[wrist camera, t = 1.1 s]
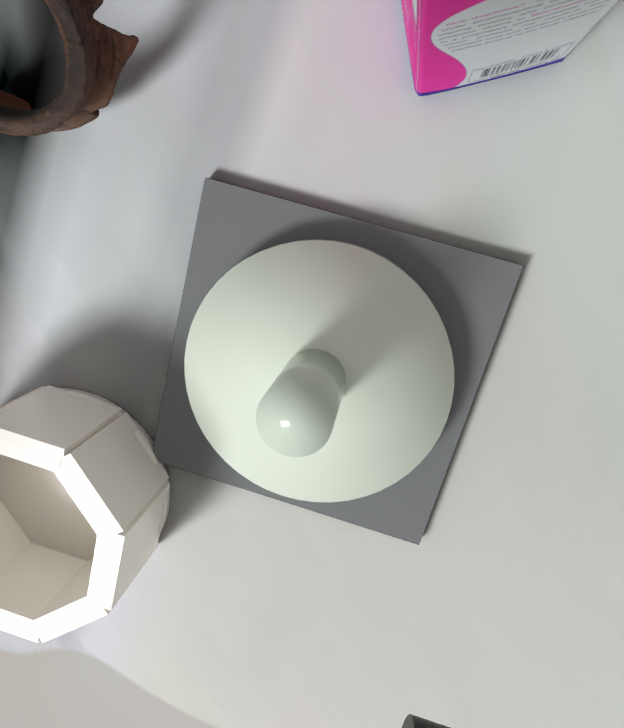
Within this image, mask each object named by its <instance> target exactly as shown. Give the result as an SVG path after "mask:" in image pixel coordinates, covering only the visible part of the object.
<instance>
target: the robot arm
mask: <svg viewBox="0 0 624 728" xmlns="http://www.w3.org/2000/svg"><path fill="white" fill-rule="evenodd" d="M402 728H450V727H447V726H444V725H441V724H438V723H435V722H432V721H429V720H426V719H423V718H420V717H417V716H414V715H411V714H409V715H408V716H407V717H406V719H405V721H404V724H403V726H402Z"/></svg>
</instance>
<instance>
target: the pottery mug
mask: <svg viewBox="0 0 624 728" xmlns="http://www.w3.org/2000/svg"><path fill="white" fill-rule="evenodd" d="M44 1H45V3H46V4H47V6H48V8H49V9H50V11H51V13H52V15H53V17H54V19H55V21H56V23H57V26H58V28H59V31H60V33H61V36H62V38H63V42H64V51H65V57H66V59H65V78H64V83H63V86H62V89H61V91H60V92H59V94H58V95H57V97H56V98H55V99H54V100H53V101H52V102H51V103H49V104H47V105H45V106H44V107H40V108H37V109H31V107H30V104H29V103H28V102H26V101H25V100H23V99H21V98H19V97H16V96H14V95H12V94H9V93H6V92H3V91H1V90H0V133H4V134H8V135H16V136H18V135H27V136H35V135H41V134H46V133H49V132H51V131H66V130H71V129H75V128H78V127H81V126H83V125H85V124H87V123H89V122H91V121H93V120H94V119H96V118H97V117H98V116H99V109H101V108H104V107H106V106H107V105H108V104H109V102H110V100H111V98H112V96H113V93H114V88H115V86H116V82H117V79H118V77H119V75H120V72H121V70H122V68H123V67H124V65H125V63H126V61H127V59H128V58H129V57H130V56H131V55H132V53H133V51H134V49H135V47H136V45H137V43H138V40H139V39H138V37H136V36H134V35H131V36H127V35H124V34H122V33H120V32H118V31H117V30H115V29H112V28H110V27H108V26H106V25H104V24H102V23H100V22H98V21H97V20H95V19H94V18H93V14H94V12H95V11H96V10H97V9H98V8H99V7H100V6H101V4H102V3H103V0H44Z"/></svg>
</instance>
